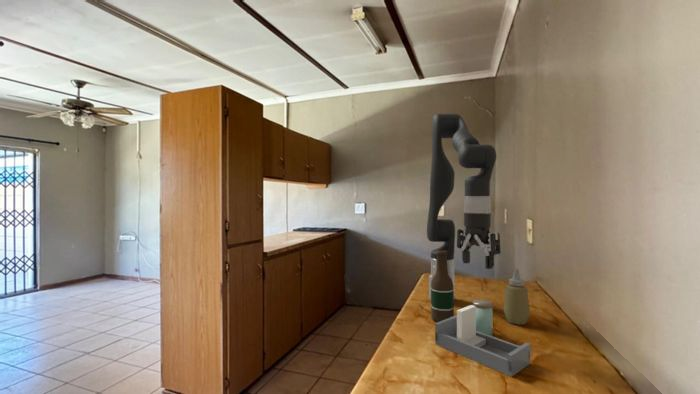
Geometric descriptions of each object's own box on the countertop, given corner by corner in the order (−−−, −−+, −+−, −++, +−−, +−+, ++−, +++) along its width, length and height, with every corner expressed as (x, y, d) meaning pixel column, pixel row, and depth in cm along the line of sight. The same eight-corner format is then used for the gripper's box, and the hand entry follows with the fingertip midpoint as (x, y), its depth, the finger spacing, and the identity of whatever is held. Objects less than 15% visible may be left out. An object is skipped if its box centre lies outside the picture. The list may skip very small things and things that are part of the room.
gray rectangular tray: (435, 344, 95) (435, 323, 95) (455, 334, 101) (455, 315, 101) (511, 376, 77) (511, 351, 77) (530, 363, 83) (530, 340, 83)
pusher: (456, 346, 91) (456, 310, 91) (471, 339, 95) (471, 304, 95) (471, 352, 87) (471, 315, 87) (485, 344, 91) (485, 309, 91)
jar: (469, 333, 102) (468, 301, 102) (479, 328, 105) (479, 297, 105) (486, 339, 97) (486, 306, 97) (496, 334, 101) (496, 302, 101)
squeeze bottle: (533, 327, 106) (533, 272, 106) (507, 325, 108) (506, 271, 107) (525, 318, 114) (525, 266, 114) (500, 316, 115) (500, 266, 115)
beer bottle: (455, 317, 115) (455, 249, 115) (452, 325, 108) (451, 253, 108) (432, 314, 118) (432, 248, 118) (428, 322, 111) (428, 251, 111)
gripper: (450, 210, 102) (450, 262, 102) (487, 212, 89) (488, 272, 89) (468, 210, 105) (468, 260, 105) (506, 212, 92) (506, 269, 92)
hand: (477, 265), depth 97 cm, fingers open, 8 cm apart
